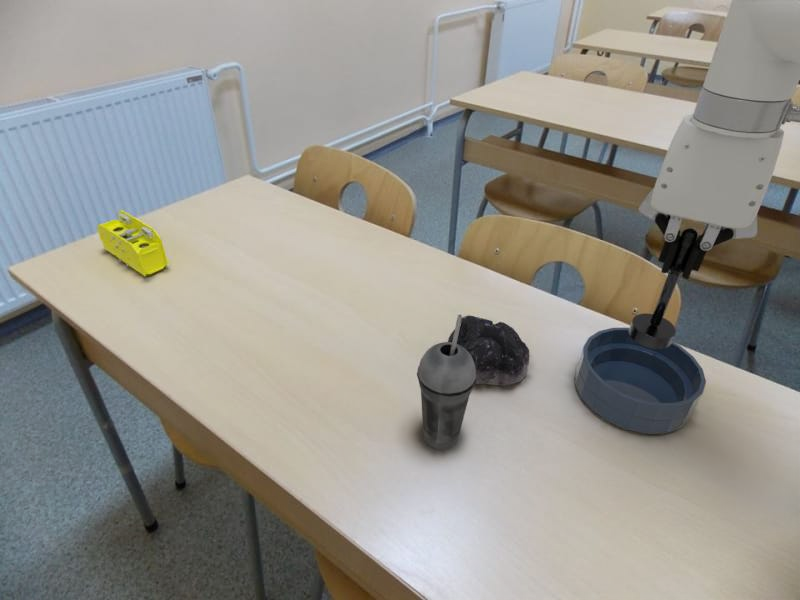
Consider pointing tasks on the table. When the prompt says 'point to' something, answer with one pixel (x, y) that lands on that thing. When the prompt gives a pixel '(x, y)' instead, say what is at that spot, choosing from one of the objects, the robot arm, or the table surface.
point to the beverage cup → (445, 390)
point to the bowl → (638, 382)
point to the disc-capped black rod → (663, 301)
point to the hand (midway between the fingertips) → (675, 269)
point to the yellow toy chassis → (133, 243)
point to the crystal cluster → (493, 350)
